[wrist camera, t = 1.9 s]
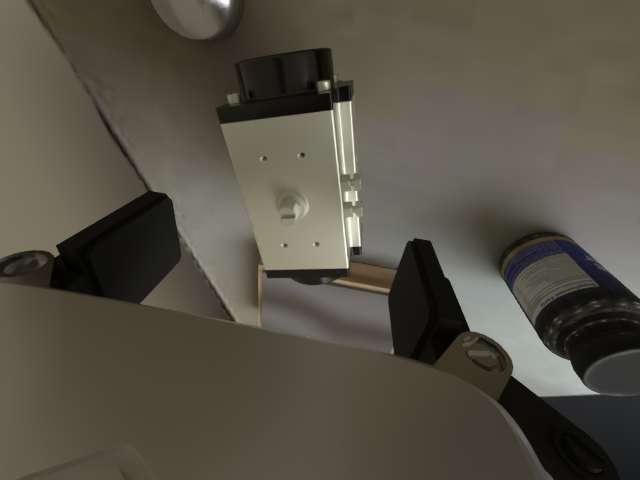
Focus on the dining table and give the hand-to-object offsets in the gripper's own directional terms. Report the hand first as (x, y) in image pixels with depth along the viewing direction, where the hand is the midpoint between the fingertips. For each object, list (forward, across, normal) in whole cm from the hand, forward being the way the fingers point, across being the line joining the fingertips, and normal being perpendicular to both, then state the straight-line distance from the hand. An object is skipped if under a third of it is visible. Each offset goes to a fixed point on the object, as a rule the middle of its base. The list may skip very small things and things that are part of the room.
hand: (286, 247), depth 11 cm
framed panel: (+14, -3, +15) cm, 21 cm away
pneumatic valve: (+14, 0, -1) cm, 14 cm away
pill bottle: (+14, -20, +6) cm, 25 cm away
